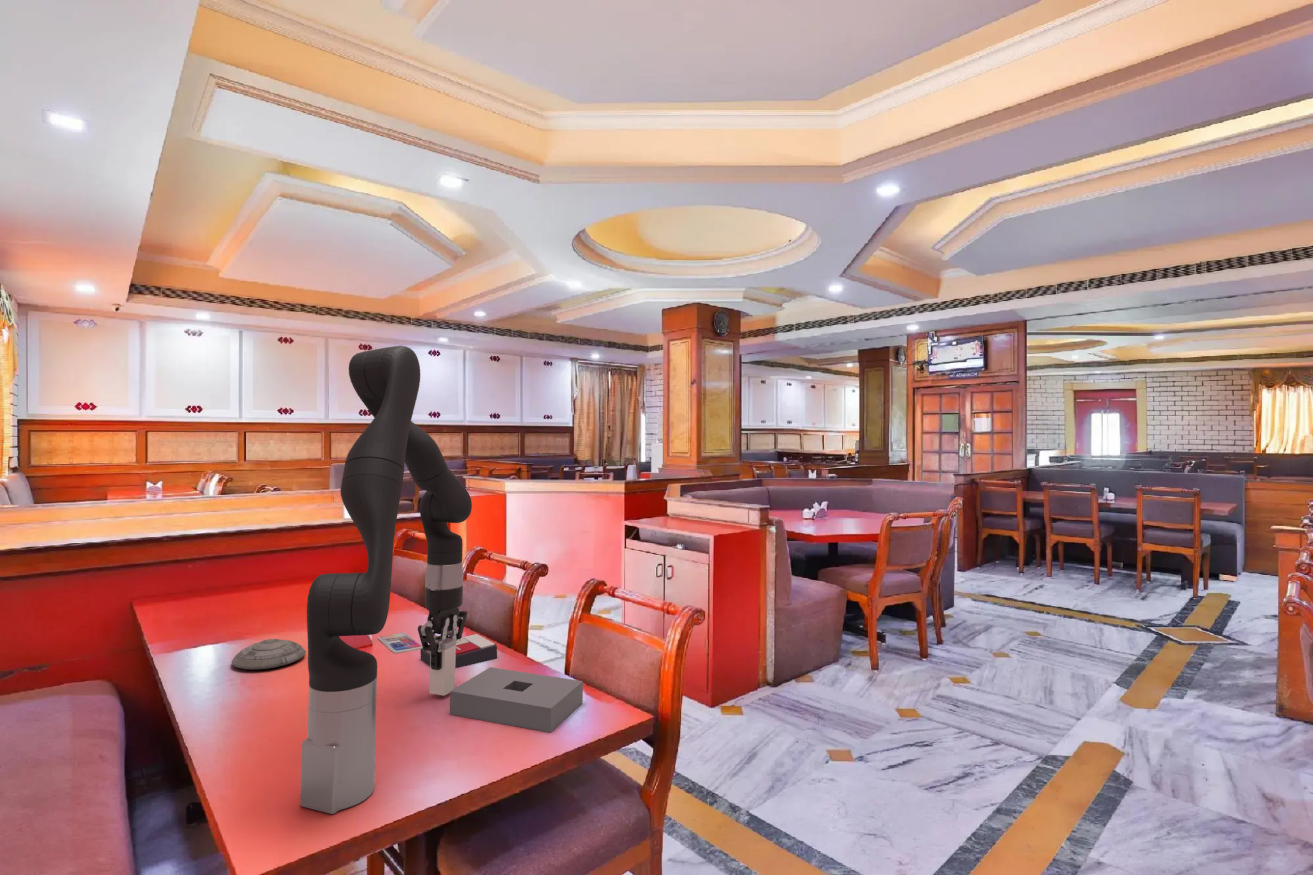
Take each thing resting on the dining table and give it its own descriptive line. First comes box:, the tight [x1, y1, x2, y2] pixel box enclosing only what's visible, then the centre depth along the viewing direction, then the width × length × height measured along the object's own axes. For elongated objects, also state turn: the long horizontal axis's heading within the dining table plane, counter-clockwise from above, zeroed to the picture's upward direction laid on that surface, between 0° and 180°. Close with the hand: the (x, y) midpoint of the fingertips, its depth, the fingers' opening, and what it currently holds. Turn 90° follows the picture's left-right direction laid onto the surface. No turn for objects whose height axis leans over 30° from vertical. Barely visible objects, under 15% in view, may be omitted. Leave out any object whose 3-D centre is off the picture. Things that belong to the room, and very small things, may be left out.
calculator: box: [419, 633, 498, 669], centre depth 154 cm, size 11×4×15 cm
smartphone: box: [378, 632, 423, 655], centre depth 164 cm, size 7×1×15 cm
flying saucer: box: [231, 638, 307, 670], centre depth 149 cm, size 15×15×6 cm
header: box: [449, 666, 584, 733], centre depth 126 cm, size 14×22×4 cm, turn 72°
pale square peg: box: [428, 638, 456, 697], centre depth 132 cm, size 4×4×11 cm
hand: (442, 665), depth 132 cm, fingers closed on pale square peg, 3 cm apart
